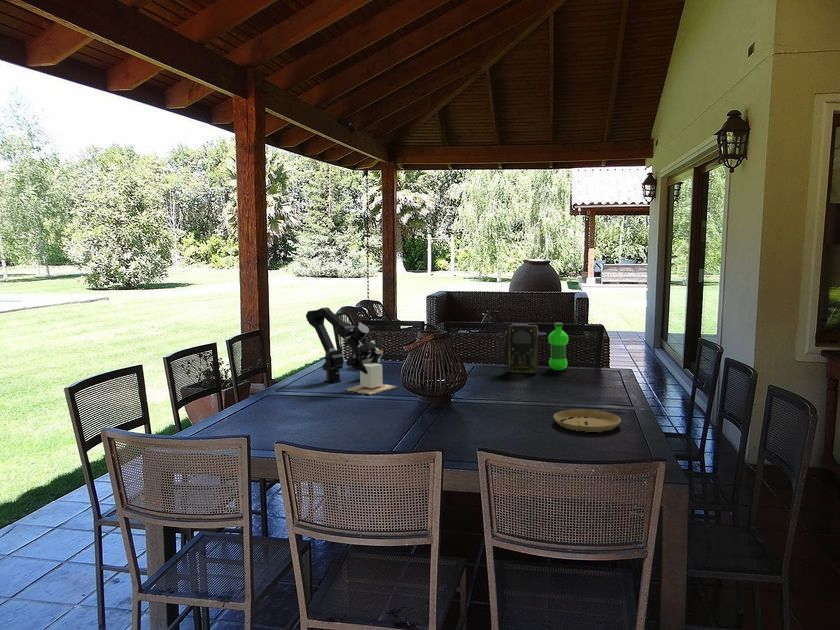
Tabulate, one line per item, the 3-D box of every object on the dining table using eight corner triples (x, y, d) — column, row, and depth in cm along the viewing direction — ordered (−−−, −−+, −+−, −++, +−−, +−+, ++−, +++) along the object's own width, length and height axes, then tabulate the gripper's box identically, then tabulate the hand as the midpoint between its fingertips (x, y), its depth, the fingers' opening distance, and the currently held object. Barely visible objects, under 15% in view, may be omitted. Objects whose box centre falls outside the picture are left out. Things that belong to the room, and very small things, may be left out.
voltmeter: (506, 373, 329) (506, 325, 326) (509, 370, 337) (509, 323, 335) (536, 374, 325) (537, 326, 322) (538, 371, 333) (539, 324, 330)
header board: (345, 390, 295) (345, 381, 295) (372, 384, 309) (372, 375, 308) (370, 395, 285) (369, 386, 284) (397, 388, 298) (396, 379, 298)
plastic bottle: (544, 368, 339) (544, 322, 337) (562, 367, 343) (562, 321, 340) (554, 372, 330) (554, 324, 327) (571, 370, 333) (572, 323, 330)
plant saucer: (571, 413, 251) (571, 405, 251) (630, 423, 236) (631, 415, 236) (541, 427, 233) (541, 419, 232) (604, 439, 218) (604, 430, 217)
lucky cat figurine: (367, 363, 363) (378, 342, 361) (379, 374, 355) (390, 352, 353) (348, 359, 352) (359, 337, 349) (360, 370, 344) (372, 348, 342)
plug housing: (371, 388, 291) (370, 366, 290) (360, 385, 296) (359, 364, 295) (382, 385, 297) (382, 364, 296) (371, 383, 302) (371, 362, 301)
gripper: (349, 338, 290) (366, 364, 284) (378, 333, 303) (395, 358, 297) (338, 353, 296) (355, 379, 290) (368, 348, 310) (384, 373, 303)
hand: (373, 372), depth 295 cm, fingers closed on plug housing, 7 cm apart
